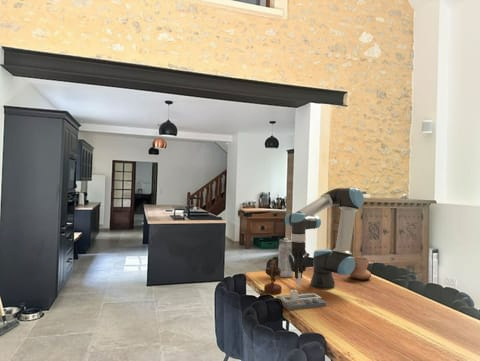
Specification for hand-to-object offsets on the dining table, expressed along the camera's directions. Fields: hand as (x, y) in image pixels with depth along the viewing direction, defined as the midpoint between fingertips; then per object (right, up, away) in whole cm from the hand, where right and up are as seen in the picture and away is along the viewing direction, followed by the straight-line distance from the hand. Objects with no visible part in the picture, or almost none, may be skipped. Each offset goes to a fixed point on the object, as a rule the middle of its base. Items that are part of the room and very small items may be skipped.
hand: (298, 284), depth 172 cm
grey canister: (+1, -12, +53) cm, 55 cm away
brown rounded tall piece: (-12, -11, +19) cm, 25 cm away
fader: (-3, -8, -1) cm, 8 cm away
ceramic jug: (+52, -13, +50) cm, 73 cm away
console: (+1, -10, 0) cm, 10 cm away
